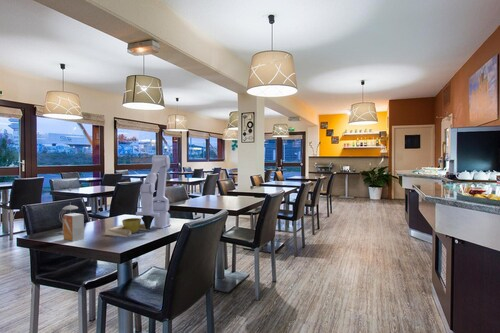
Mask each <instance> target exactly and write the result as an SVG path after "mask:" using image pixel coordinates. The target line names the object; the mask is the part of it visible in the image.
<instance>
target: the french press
mask: <svg viewBox="0 0 500 333" xmlns="http://www.w3.org/2000/svg"><path fill="white" fill-rule="evenodd" d="M67 191H69V192H71V191H73V189H72V188H68V189H67ZM78 209H79V207H78V206H77V205H71V203H69V204H68V205H66V206H64V207H63V208H61V211H60V212H59V215H58V217H59V221H60V222H61V223H62V231H61V232H60V233H61V234H62V235H64V224H63V218H61V216H60V215H61V214H64V213H66V212H67V211H68V210H69V214H71V213H72V212H71V211H73V210H78Z"/></svg>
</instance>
